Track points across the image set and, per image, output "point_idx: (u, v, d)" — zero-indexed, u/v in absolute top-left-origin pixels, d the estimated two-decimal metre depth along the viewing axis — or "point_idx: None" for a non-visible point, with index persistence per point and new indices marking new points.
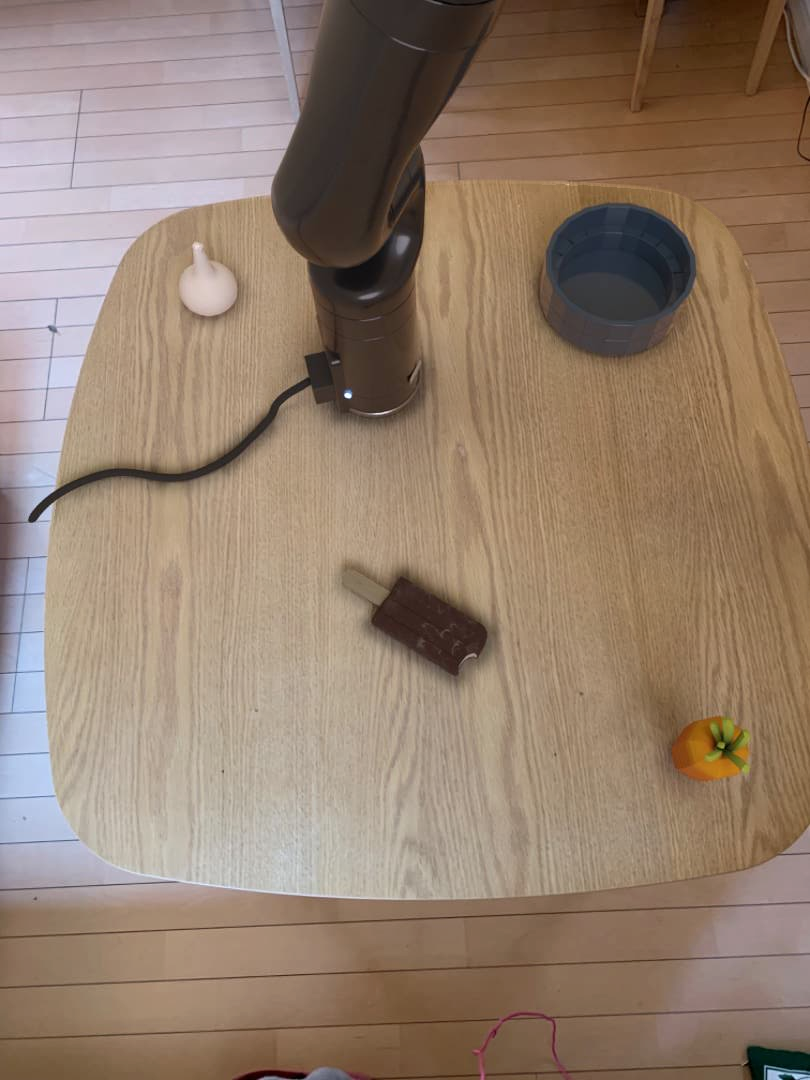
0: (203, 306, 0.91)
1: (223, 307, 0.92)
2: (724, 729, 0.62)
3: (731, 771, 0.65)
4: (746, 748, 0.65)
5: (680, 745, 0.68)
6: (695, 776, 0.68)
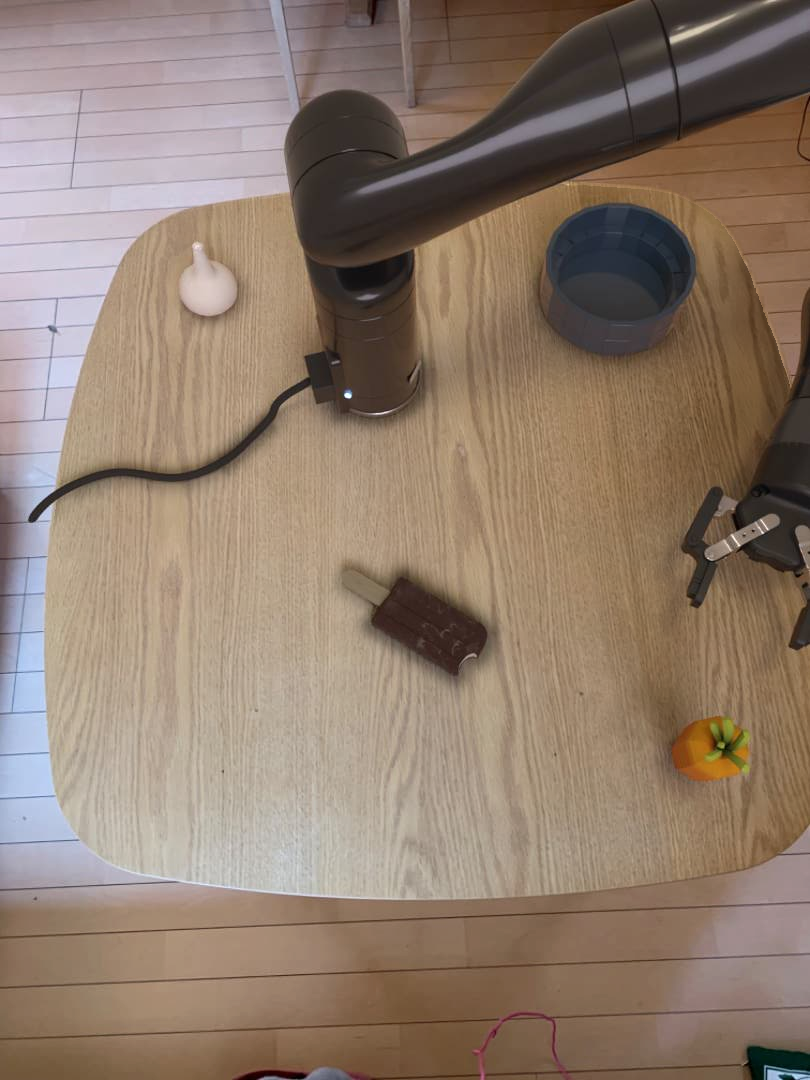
0: (203, 306, 0.91)
1: (223, 307, 0.92)
2: (724, 729, 0.62)
3: (731, 771, 0.65)
4: (746, 748, 0.65)
5: (680, 745, 0.68)
6: (695, 776, 0.68)
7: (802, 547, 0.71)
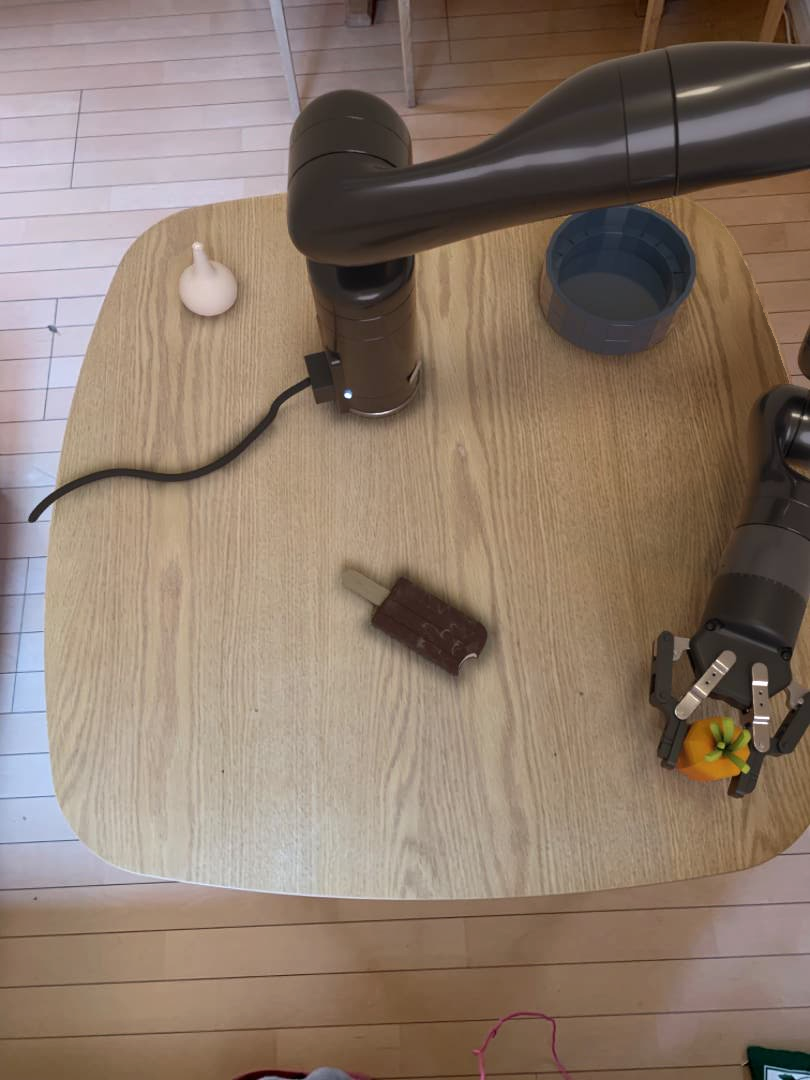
0: (203, 306, 0.91)
1: (223, 307, 0.92)
2: (724, 729, 0.62)
3: (731, 771, 0.65)
4: (746, 748, 0.65)
5: None
6: (695, 776, 0.68)
7: (755, 685, 0.67)
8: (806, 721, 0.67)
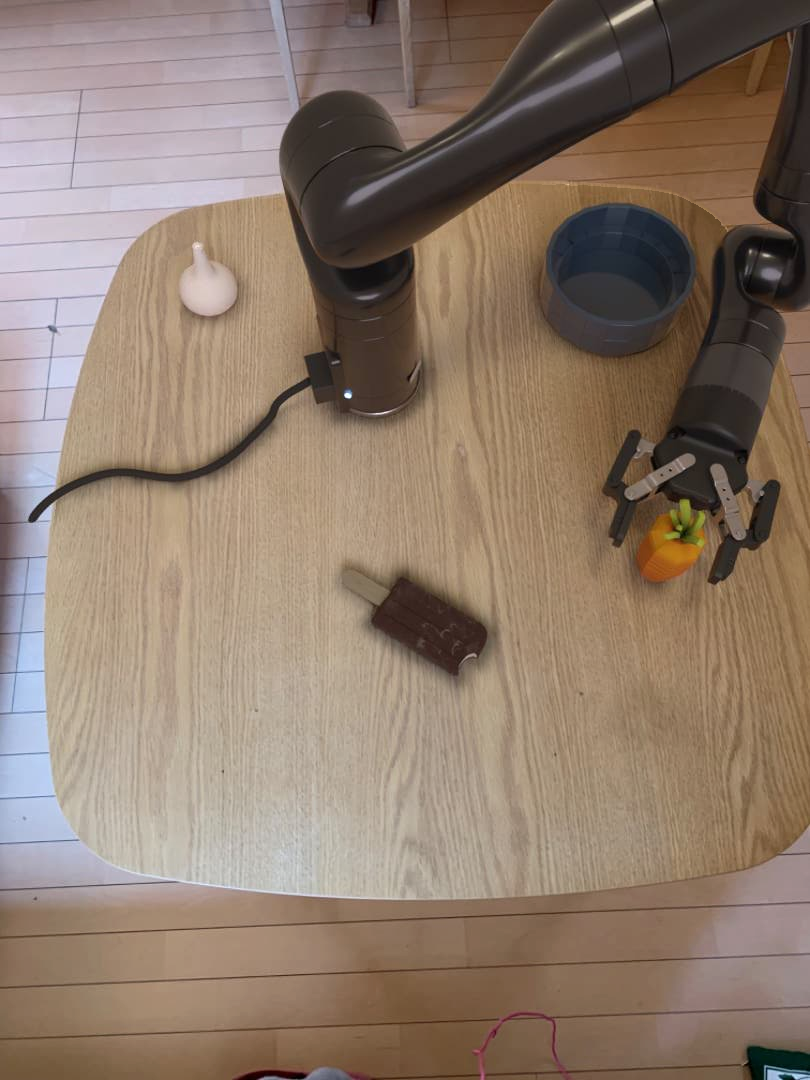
0: (203, 306, 0.91)
1: (223, 307, 0.92)
2: (681, 511, 0.68)
3: (689, 556, 0.71)
4: (703, 536, 0.71)
5: (644, 541, 0.74)
6: (658, 570, 0.74)
7: (717, 484, 0.73)
8: (772, 508, 0.72)
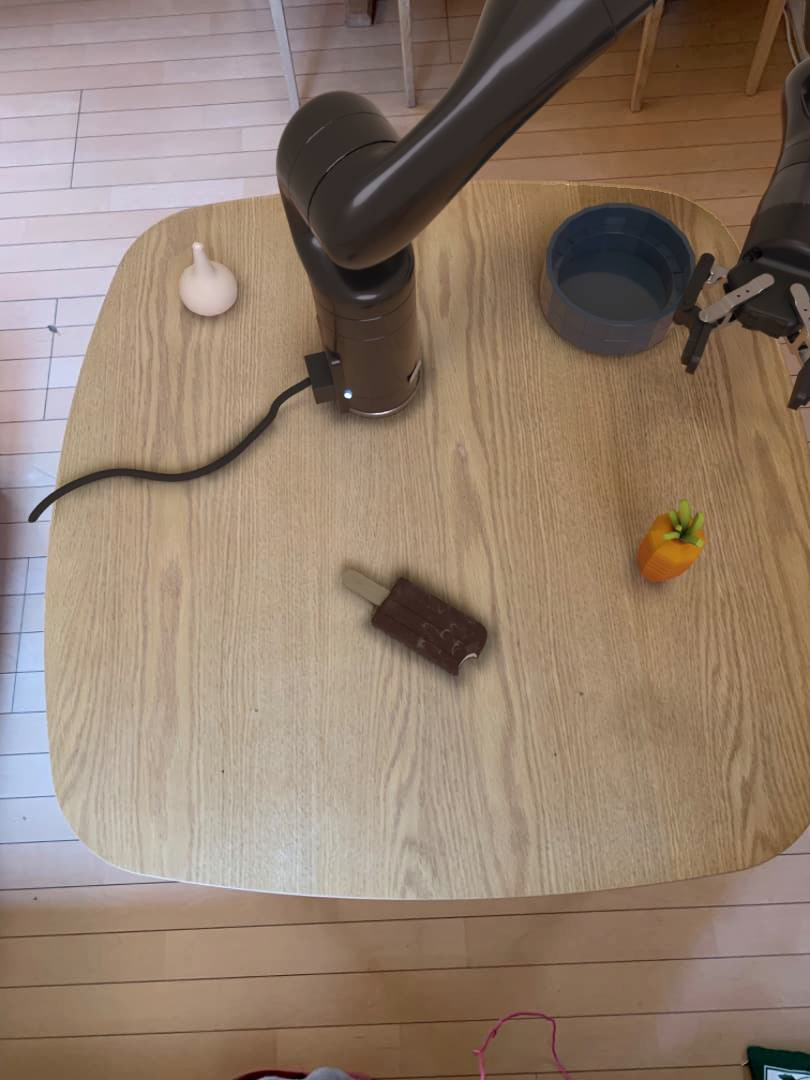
0: (203, 306, 0.91)
1: (223, 307, 0.92)
2: (681, 511, 0.68)
3: (689, 556, 0.71)
4: (702, 536, 0.71)
5: (643, 541, 0.74)
6: (657, 571, 0.74)
7: (798, 304, 0.68)
8: None
